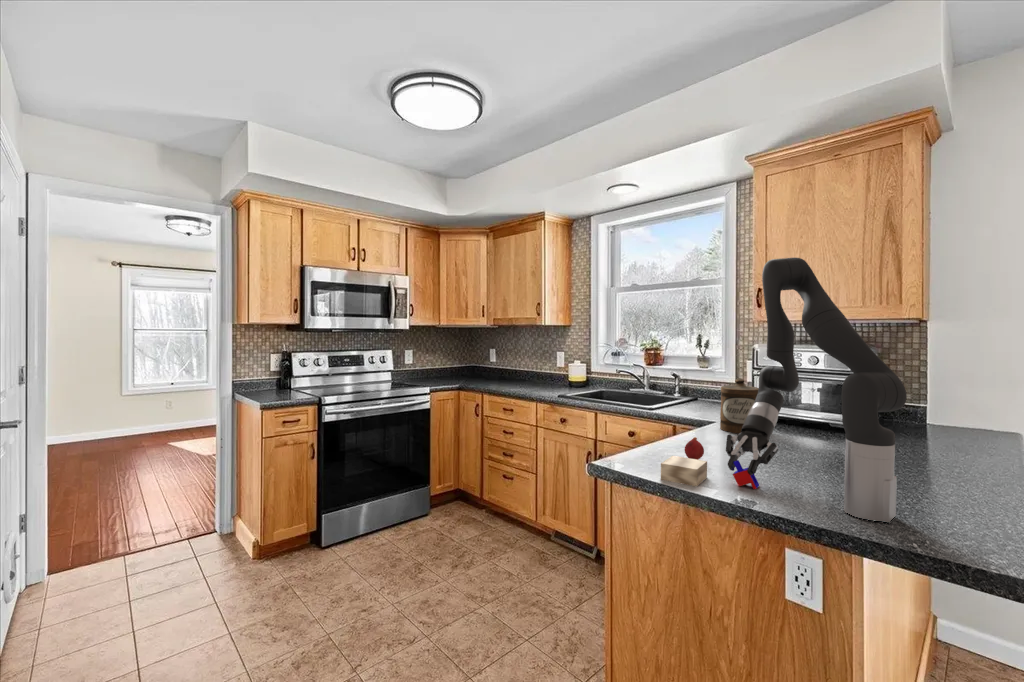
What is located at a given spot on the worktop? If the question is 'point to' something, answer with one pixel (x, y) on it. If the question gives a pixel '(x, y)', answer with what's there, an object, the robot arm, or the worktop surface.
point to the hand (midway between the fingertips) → (740, 470)
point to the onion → (694, 449)
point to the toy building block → (744, 476)
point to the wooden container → (736, 405)
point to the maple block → (684, 470)
